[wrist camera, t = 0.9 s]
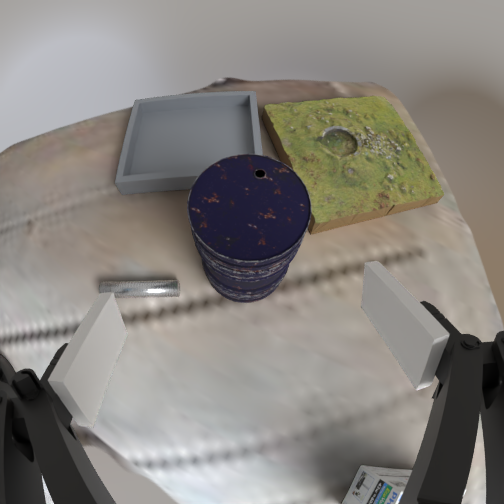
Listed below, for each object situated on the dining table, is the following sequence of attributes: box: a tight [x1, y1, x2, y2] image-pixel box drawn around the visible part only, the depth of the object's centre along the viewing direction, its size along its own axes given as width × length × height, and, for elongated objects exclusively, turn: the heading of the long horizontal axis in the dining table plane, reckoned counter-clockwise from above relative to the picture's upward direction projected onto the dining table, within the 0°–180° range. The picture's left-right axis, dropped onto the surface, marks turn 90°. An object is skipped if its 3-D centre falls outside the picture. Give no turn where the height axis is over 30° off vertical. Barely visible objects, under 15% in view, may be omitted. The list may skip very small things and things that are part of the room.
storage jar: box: [187, 154, 312, 303], centre depth 30 cm, size 10×10×15 cm
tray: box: [115, 91, 263, 195], centre depth 42 cm, size 20×17×3 cm
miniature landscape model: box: [262, 96, 444, 235], centre depth 42 cm, size 22×24×5 cm
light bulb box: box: [342, 465, 466, 504], centre depth 22 cm, size 11×7×11 cm, turn 70°
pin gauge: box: [99, 280, 180, 298], centre depth 34 cm, size 10×2×2 cm, turn 94°
